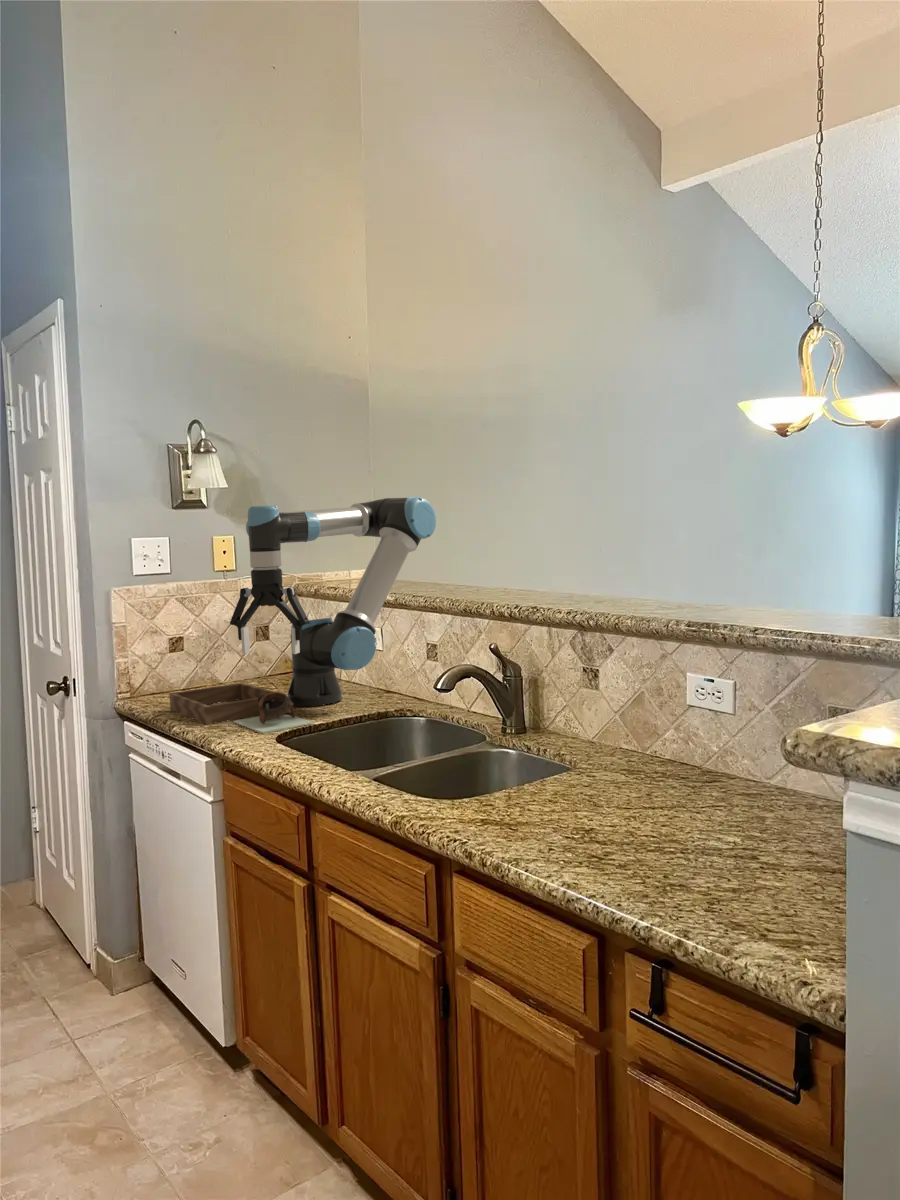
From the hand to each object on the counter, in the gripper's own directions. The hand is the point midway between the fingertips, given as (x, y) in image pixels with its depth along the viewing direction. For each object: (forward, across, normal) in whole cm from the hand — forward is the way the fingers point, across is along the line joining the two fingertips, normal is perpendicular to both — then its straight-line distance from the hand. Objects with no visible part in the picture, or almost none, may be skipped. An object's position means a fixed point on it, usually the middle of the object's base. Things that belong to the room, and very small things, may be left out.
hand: (271, 653), depth 224 cm
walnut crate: (+18, +20, -12) cm, 29 cm away
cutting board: (+18, 0, 0) cm, 18 cm away
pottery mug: (+18, 0, -1) cm, 18 cm away
